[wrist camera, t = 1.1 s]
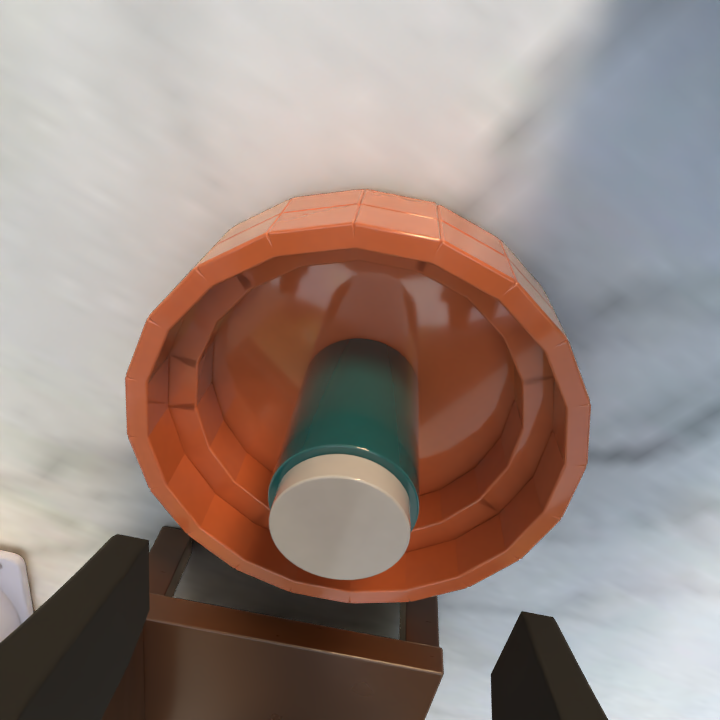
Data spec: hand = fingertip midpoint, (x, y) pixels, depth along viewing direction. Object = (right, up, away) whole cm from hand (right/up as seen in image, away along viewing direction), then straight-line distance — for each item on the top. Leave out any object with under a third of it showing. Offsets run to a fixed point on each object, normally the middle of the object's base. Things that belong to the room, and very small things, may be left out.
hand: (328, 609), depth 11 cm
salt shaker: (+1, +4, +7) cm, 8 cm away
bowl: (+1, +4, +7) cm, 8 cm away
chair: (-3, -7, +14) cm, 16 cm away
